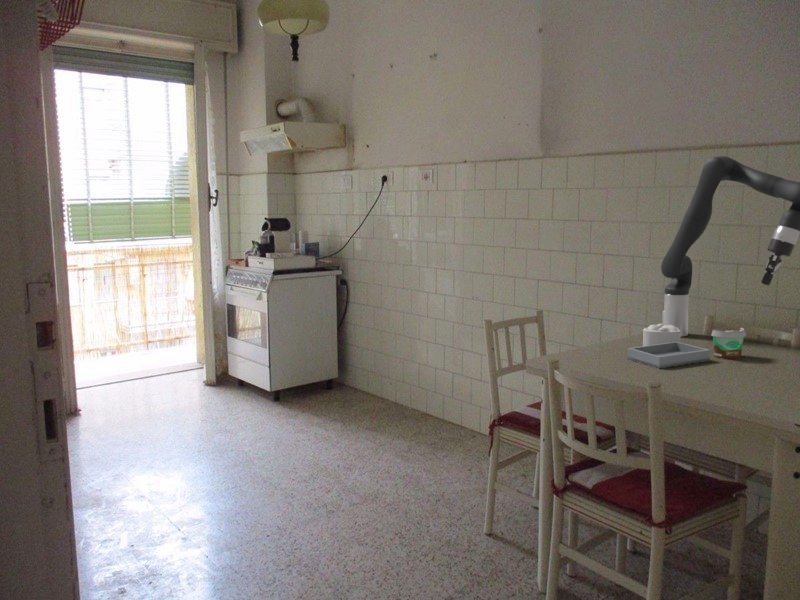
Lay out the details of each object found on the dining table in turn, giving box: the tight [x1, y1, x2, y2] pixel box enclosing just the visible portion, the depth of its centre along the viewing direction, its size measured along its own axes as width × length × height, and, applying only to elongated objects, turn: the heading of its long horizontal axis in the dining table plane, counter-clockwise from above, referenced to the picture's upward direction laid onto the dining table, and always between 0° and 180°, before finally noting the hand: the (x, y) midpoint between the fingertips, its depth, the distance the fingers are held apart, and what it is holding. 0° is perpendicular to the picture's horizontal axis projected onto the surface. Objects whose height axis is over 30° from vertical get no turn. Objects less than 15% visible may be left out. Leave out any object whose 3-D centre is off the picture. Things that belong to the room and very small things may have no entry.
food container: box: [710, 327, 747, 360], centre depth 236 cm, size 12×6×10 cm, turn 102°
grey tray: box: [627, 341, 711, 369], centre depth 237 cm, size 16×22×4 cm
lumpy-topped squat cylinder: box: [642, 323, 682, 346], centre depth 256 cm, size 10×13×9 cm
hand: (765, 284), depth 237 cm, fingers open, 8 cm apart
